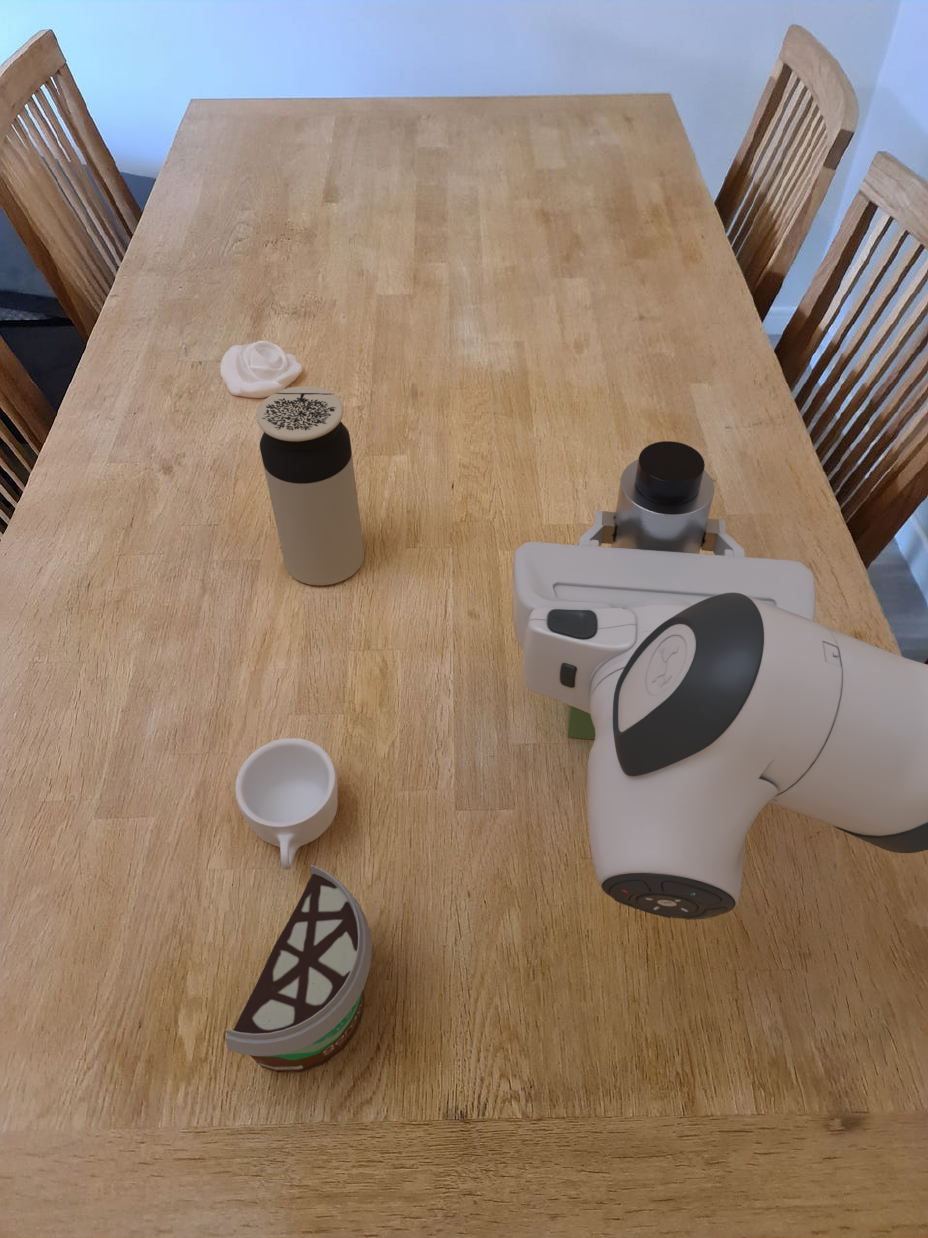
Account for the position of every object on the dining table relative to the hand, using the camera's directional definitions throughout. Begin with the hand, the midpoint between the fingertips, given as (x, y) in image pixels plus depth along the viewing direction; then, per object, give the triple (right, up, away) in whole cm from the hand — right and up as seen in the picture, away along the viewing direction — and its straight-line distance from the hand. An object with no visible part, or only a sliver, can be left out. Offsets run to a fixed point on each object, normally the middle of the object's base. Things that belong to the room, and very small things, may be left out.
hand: (657, 521), depth 71 cm
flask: (0, -6, +5) cm, 8 cm away
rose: (-39, +22, +48) cm, 65 cm away
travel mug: (-28, -1, +27) cm, 39 cm away
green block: (0, -14, +15) cm, 20 cm away
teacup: (-27, -24, +7) cm, 37 cm away
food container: (-23, -35, -3) cm, 42 cm away
